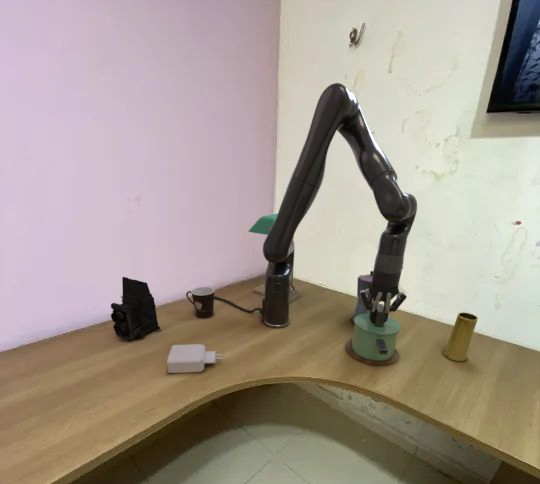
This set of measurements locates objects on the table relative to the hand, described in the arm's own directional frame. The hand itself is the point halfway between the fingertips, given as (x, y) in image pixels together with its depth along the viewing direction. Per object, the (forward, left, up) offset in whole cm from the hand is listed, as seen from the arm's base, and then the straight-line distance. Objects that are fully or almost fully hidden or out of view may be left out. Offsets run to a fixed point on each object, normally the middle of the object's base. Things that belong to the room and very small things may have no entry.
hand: (377, 321), depth 95 cm
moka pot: (-8, +19, -11) cm, 23 cm away
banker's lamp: (-51, +24, -11) cm, 57 cm away
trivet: (0, 0, -11) cm, 11 cm away
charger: (-41, -36, -11) cm, 56 cm away
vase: (+23, +12, -11) cm, 28 cm away
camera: (-71, -35, -11) cm, 80 cm away
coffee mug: (-64, -10, -11) cm, 66 cm away
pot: (+1, -2, -10) cm, 10 cm away
